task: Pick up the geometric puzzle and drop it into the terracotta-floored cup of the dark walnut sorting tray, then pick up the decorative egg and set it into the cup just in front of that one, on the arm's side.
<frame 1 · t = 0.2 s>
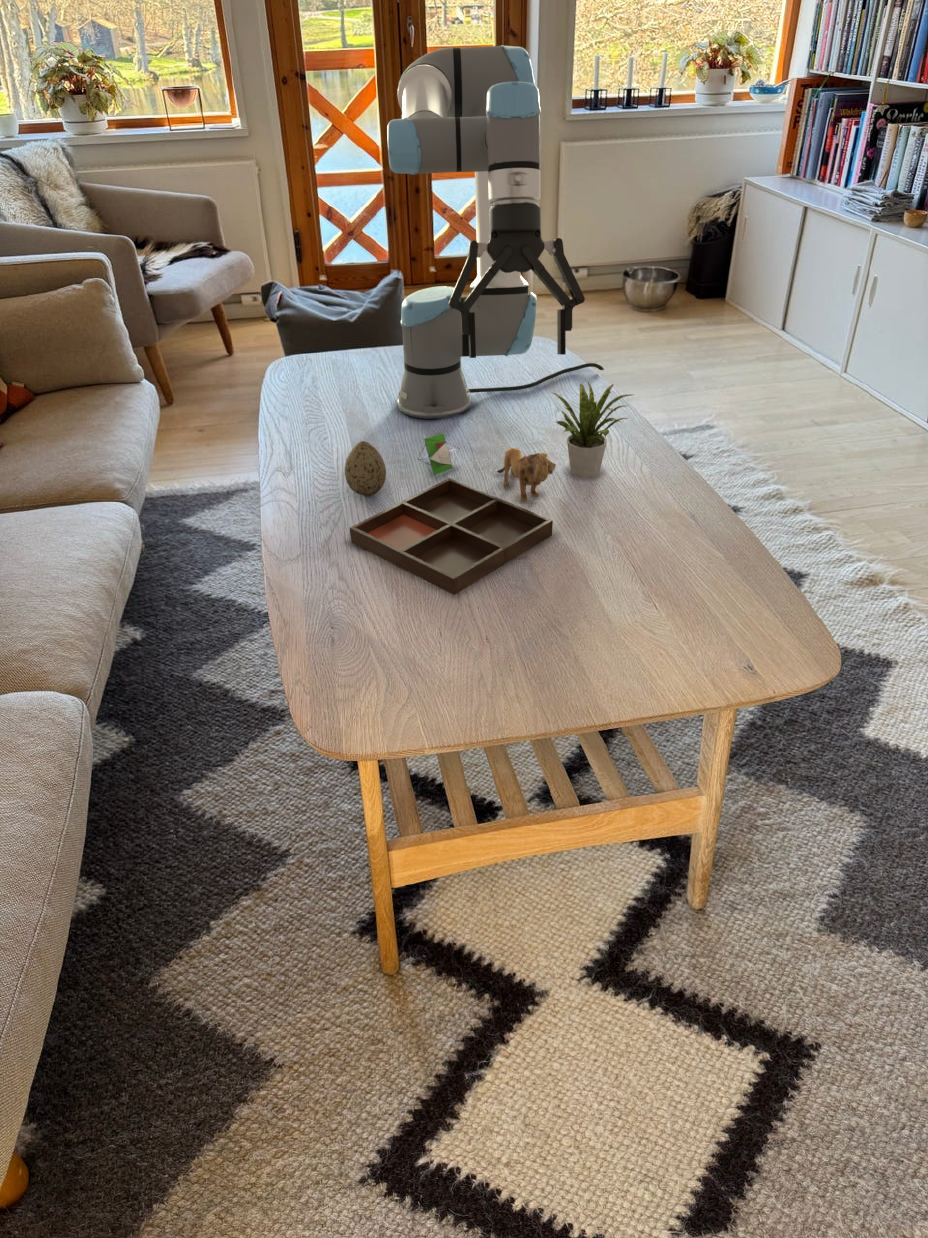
hand: (517, 356, 143), 27 cm above the table, tool tilted 20°, fingers open, 13 cm apart
lion figurine: (524, 491, 166), on the table
sorting tray: (451, 539, 153), on the table
house plant: (591, 474, 171), on the table
geometric puzzle: (439, 470, 173), on the table
decorative egg: (367, 495, 166), on the table
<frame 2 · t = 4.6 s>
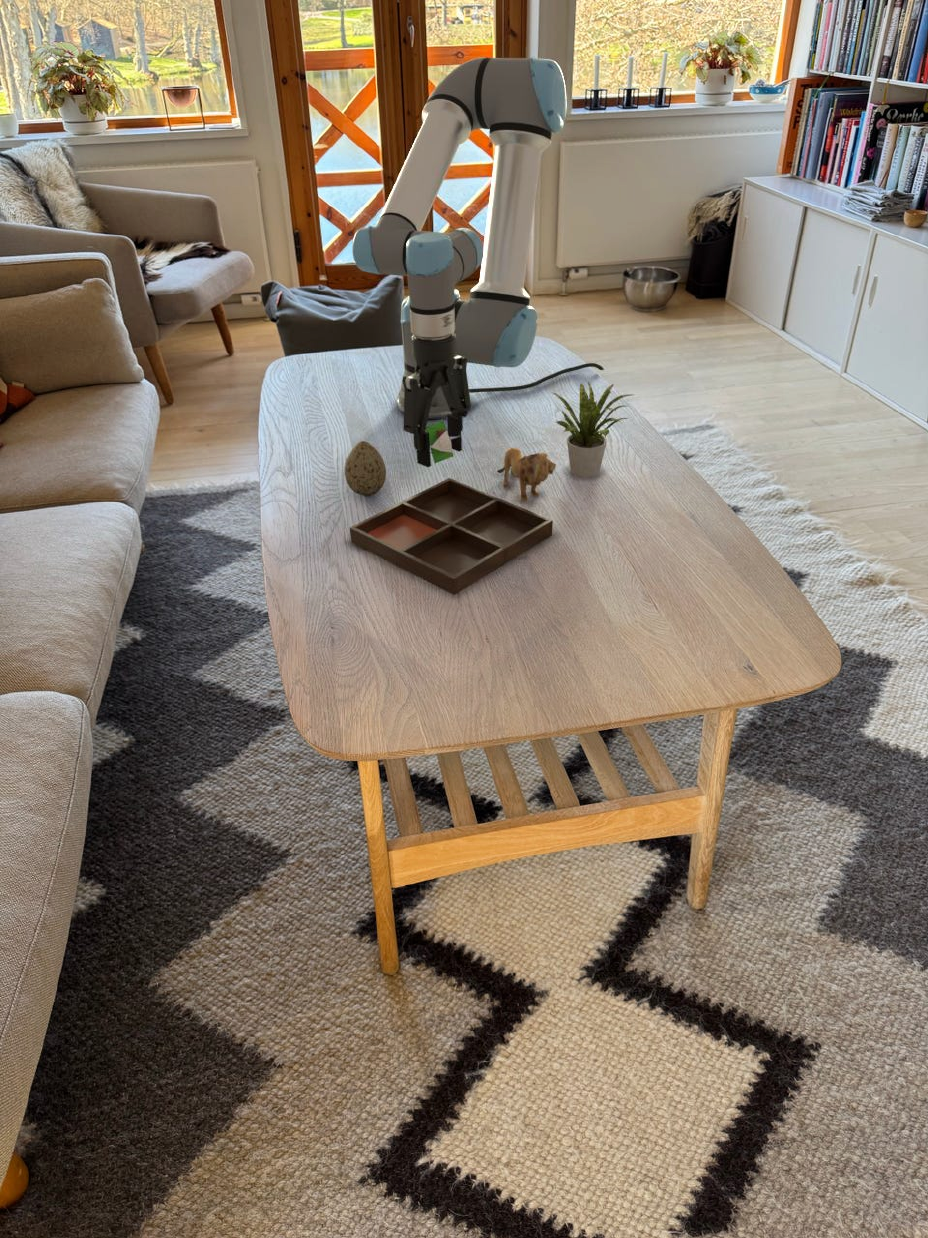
hand: (439, 456, 172), 2 cm above the table, tool pointing down, fingers closed on geometric puzzle, 7 cm apart
geometric puzzle: (440, 458, 172), point 2 cm above the table, touching gripper
everything else where it was.
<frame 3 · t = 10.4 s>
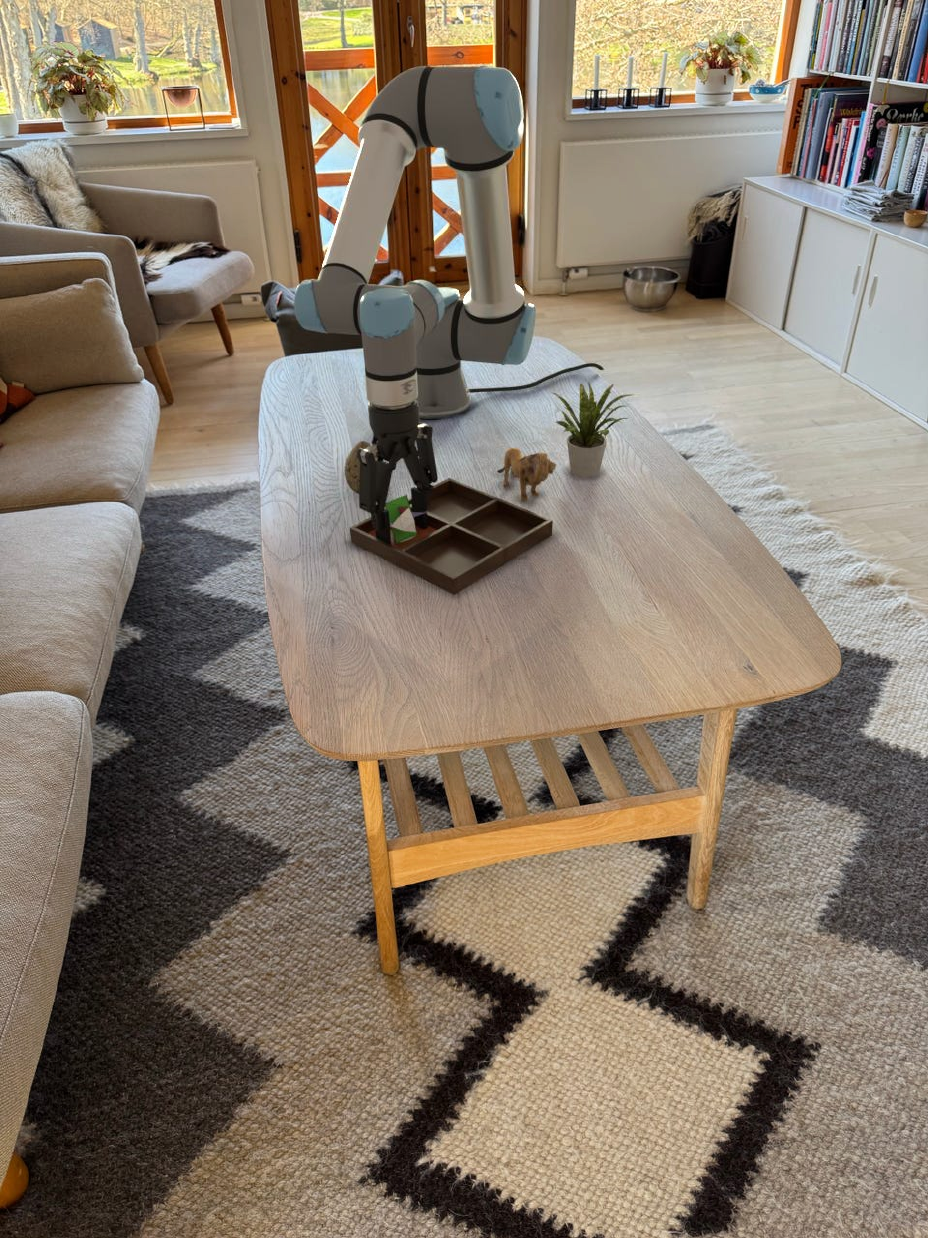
hand: (402, 535, 152), 1 cm above the table, tool pointing down, fingers closed on geometric puzzle, 7 cm apart
geometric puzzle: (402, 537, 152), point 1 cm above the table, touching gripper
everything else where it was.
when the fingers open (2 cm above the table, at t = 33.5 s): geometric puzzle stays where it is, resting on sorting tray.
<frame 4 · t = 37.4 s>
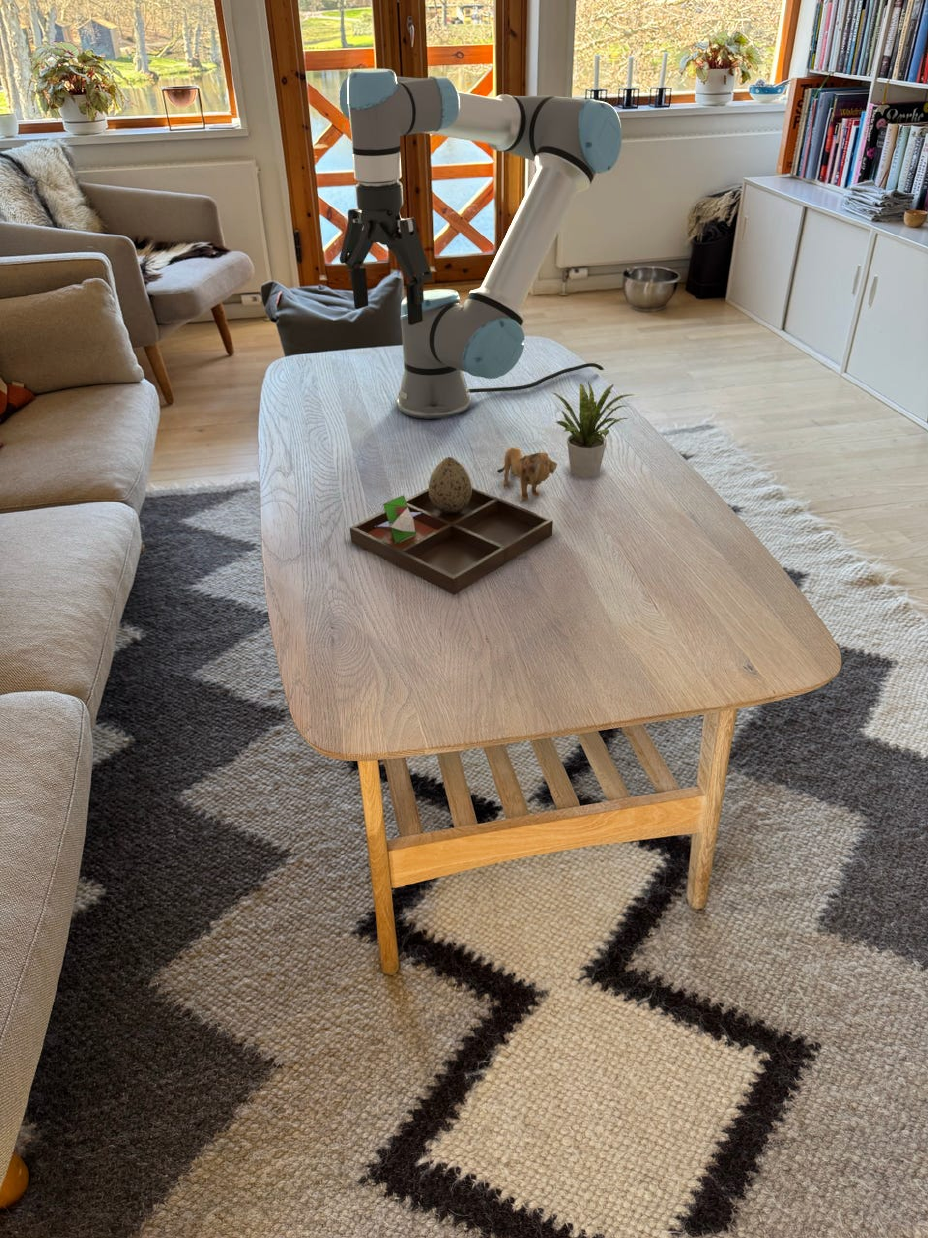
hand: (387, 314, 163), 27 cm above the table, tool pointing down, fingers open, 13 cm apart
geometric puzzle: (400, 537, 152), point 1 cm above the table, touching sorting tray
decorative egg: (451, 512, 159), resting on sorting tray
everything else where it was.
at the end: geometric puzzle 0.4 cm from the target spot in the sorting tray, point 0.6 cm above the sorting tray's base; decorative egg 0.1 cm from the target spot in the sorting tray, point 0.4 cm above the sorting tray's base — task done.
